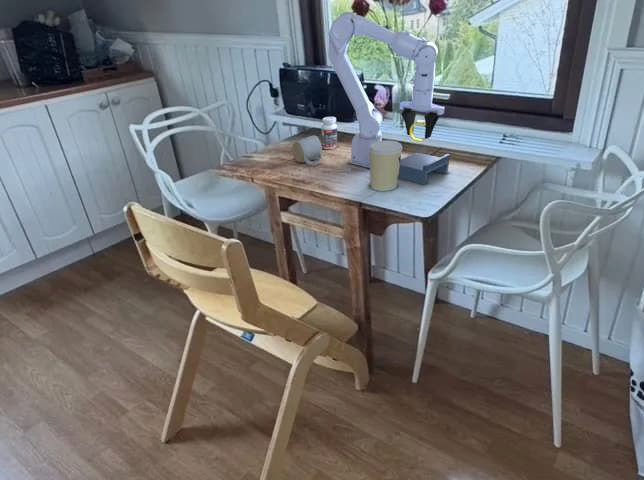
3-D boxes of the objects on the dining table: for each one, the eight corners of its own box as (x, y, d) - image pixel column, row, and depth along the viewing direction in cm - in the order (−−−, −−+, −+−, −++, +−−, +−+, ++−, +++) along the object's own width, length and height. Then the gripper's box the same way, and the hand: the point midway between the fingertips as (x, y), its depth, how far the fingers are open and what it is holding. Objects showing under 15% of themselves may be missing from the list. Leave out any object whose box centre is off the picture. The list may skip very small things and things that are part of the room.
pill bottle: (326, 150, 186) (325, 121, 180) (318, 146, 190) (318, 118, 184) (340, 147, 187) (340, 118, 181) (332, 143, 191) (332, 115, 185)
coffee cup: (405, 187, 153) (408, 146, 145) (376, 194, 151) (378, 152, 144) (390, 177, 160) (392, 138, 152) (362, 183, 158) (363, 143, 151)
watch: (407, 140, 164) (409, 121, 160) (411, 138, 165) (413, 118, 162) (425, 143, 160) (427, 123, 157) (429, 140, 162) (431, 120, 158)
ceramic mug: (291, 160, 181) (290, 138, 176) (311, 154, 183) (310, 132, 178) (307, 168, 173) (307, 145, 168) (327, 163, 176) (327, 140, 171)
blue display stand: (391, 175, 161) (392, 158, 158) (415, 164, 167) (416, 147, 163) (424, 184, 153) (426, 166, 150) (447, 172, 159) (450, 154, 156)
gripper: (452, 88, 151) (446, 136, 159) (411, 83, 160) (407, 129, 168) (438, 93, 148) (433, 142, 156) (397, 88, 157) (393, 134, 165)
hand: (418, 136), depth 162 cm, fingers closed on watch, 6 cm apart
